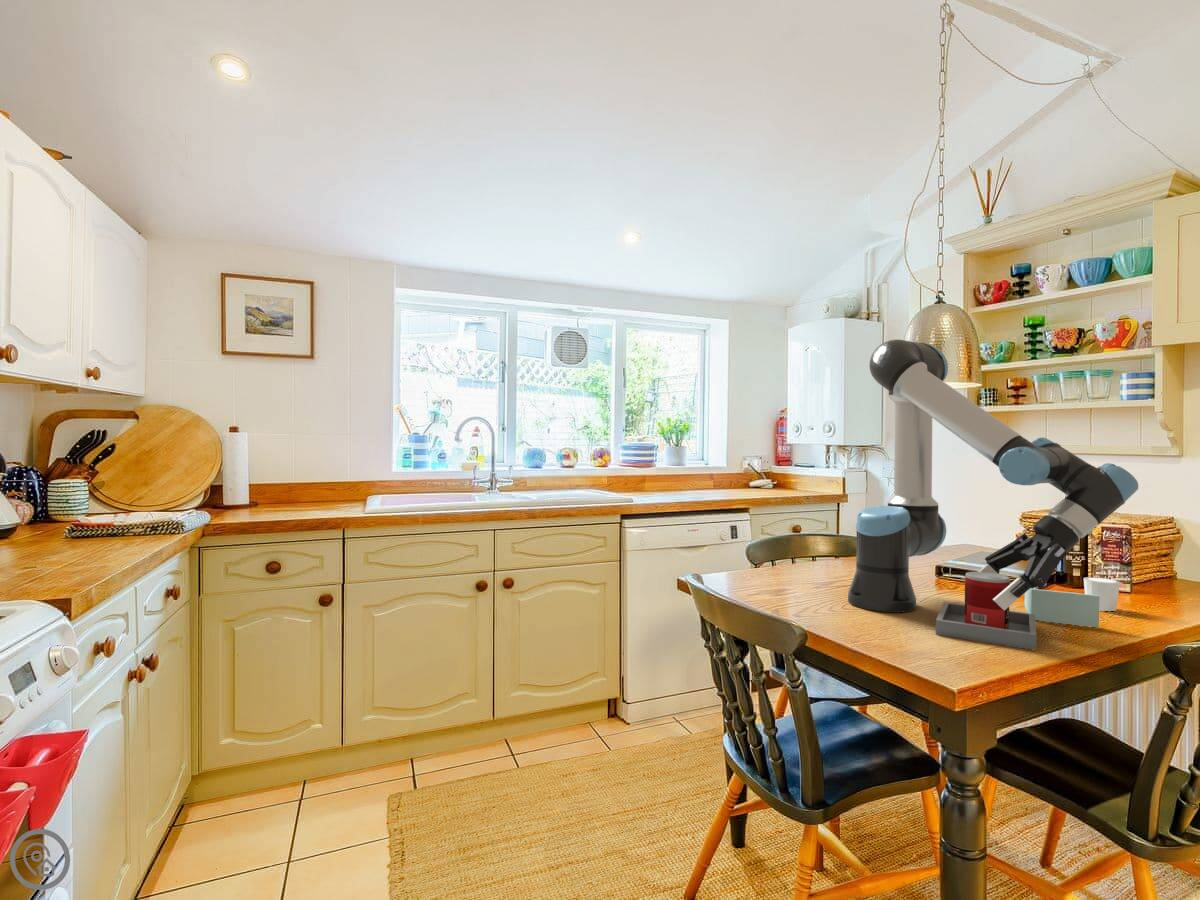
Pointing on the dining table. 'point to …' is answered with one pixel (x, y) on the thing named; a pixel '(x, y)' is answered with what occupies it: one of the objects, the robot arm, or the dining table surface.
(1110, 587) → the white cup
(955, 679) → the dining table surface
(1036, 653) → the dining table surface
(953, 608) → the gray square tray
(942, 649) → the dining table surface
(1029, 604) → the l-shaped corner panel
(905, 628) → the dining table surface
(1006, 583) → the canned food
